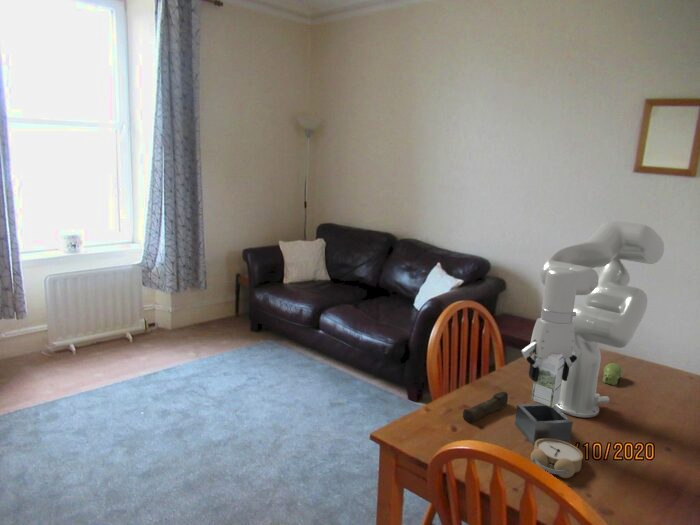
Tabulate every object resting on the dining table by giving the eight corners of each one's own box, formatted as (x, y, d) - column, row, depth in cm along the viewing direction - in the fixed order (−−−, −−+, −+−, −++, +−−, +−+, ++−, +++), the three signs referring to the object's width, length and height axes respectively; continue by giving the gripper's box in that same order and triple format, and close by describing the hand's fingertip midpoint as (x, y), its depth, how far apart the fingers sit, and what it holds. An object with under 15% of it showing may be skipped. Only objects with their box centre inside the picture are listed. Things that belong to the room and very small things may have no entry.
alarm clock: (587, 448, 130) (575, 467, 117) (584, 467, 130) (571, 487, 118) (541, 433, 136) (525, 449, 123) (538, 451, 136) (522, 469, 124)
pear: (625, 363, 177) (619, 377, 170) (623, 376, 179) (617, 390, 172) (607, 358, 180) (600, 372, 173) (605, 371, 182) (598, 385, 175)
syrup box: (559, 401, 139) (567, 350, 136) (551, 408, 135) (559, 356, 132) (538, 394, 143) (545, 344, 140) (530, 401, 138) (537, 350, 135)
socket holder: (549, 422, 147) (551, 402, 146) (569, 442, 137) (572, 422, 136) (514, 424, 145) (517, 404, 144) (533, 444, 135) (535, 423, 134)
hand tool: (472, 426, 144) (474, 411, 143) (461, 419, 147) (463, 404, 146) (514, 408, 155) (516, 394, 154) (503, 402, 158) (505, 388, 157)
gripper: (578, 311, 139) (569, 372, 142) (518, 311, 136) (510, 374, 140) (596, 320, 132) (586, 384, 135) (532, 320, 129) (524, 386, 132)
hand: (547, 378), depth 137 cm, fingers closed on syrup box, 7 cm apart
